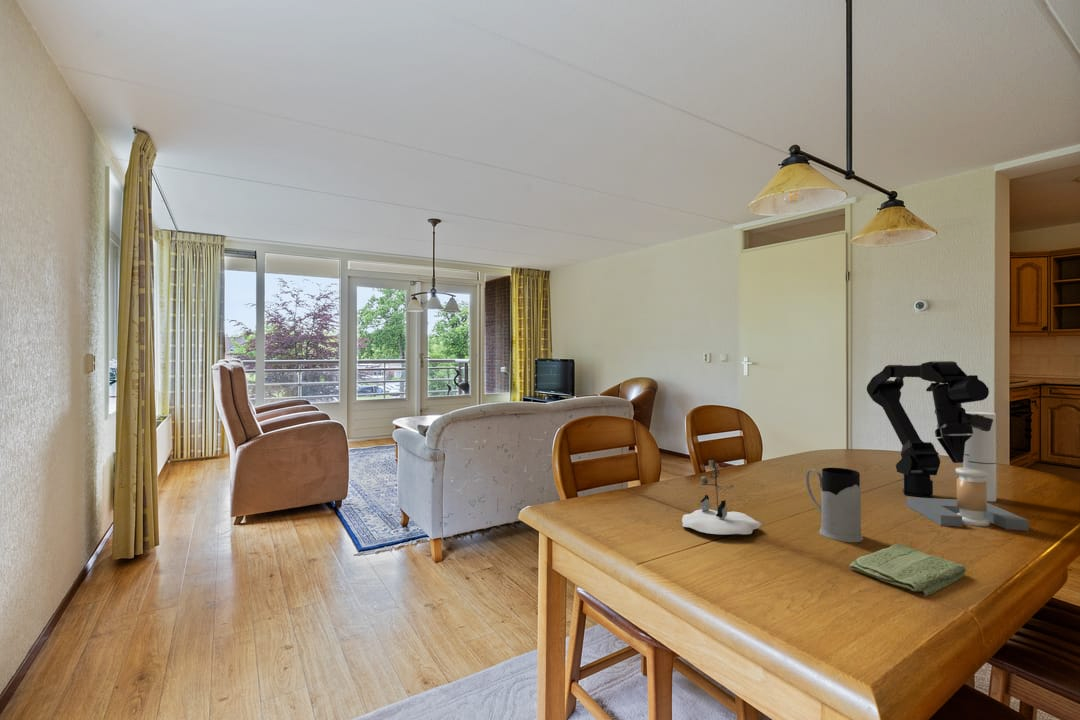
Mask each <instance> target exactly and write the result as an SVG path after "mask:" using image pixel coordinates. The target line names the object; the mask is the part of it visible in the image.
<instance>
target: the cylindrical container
mask: <svg viewBox="0 0 1080 720" xmlns="http://www.w3.org/2000/svg"><path fill="white" fill-rule="evenodd" d="M965 412H966V413H967V414H972V415H976V414H977V415H981V416H982V415H983V416H984V417H986V418H990V419H993V423H992V426H991V430H990V431H983V430H980V429H977V428H973V427H972V429H973V434H968V435H972V437H970V438H969V439H968V440H967V441H966V442H965V449H964V459H963V463H962V468H974V469H980V470H985V471H987V472H988V476H987V477H984V481H986V482H987V502H996V501H997V429H996V428H997V422H996V421H997V419H996V418H997V414H996V413H995V412H986V411H965Z"/></svg>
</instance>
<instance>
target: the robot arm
mask: <svg viewBox="0 0 1080 720" xmlns="http://www.w3.org/2000/svg"><path fill="white" fill-rule="evenodd" d="M890 378H895V379H894V380H891V379H890ZM904 378H920V379H922V380H924V381H927V382H931V383H930V385H929V386H927V388H926V389H925V391H926V392H932V397H933V404H934V414H935V416H936V421H937V424H936V426H937V428H936V429H935V430H934V436H935V438H936V440H937V441H938V443H939V444H940V446H941V447H942V448H943V450H944V451H945V453H946V454H947V455H948V457H949V458H950V460H951V462H952V463H954V464H961V463H962V464H963V459H964V449H965V442H966V441H967V440H968V439H969V438H970V437H972V435H968V434H973V429H972V427H973V428H977V429H980V430H983V431H990V430H991V426H992V423H993V419H990V418H986V417H984V416H983V415H982V416H981V415H977V414H976V415H972V414H967V413H966V412H967V411H966V409H965V408H964V407H963V405H962V404H966V403H967V404H968V403H974V402H980V401H984V400H986V399H987V398H988V397H989V393H990V390H989V387H988V386H987V385H986V384H985V382H984V381H983V380H980V379H979V376H978V375H975V374H972V375H968V374H966V372H965V371H964V370H963V369H962V368H961V367H960V366H959V365H958V363H957V362H956V361H953V360H952V361H950V360H949V361H947V360H945V361H943V360H942V361H941V360H940V361H937V360H936V361H935V360H934V361H927V362H923V363H921V364H919V365H915V364H913V365H903V364H888V365H885V366H884V367H883V369H882V370H881V371H880V372H878V373H877V374H875V375H873V377H872V378H871V379H870V381H869V382H868V384H867V386H866V392H867V394H868V395H869V397H870V398H871V400H872V401H873V402H874V403H876V404H878V405H879V406H880V407H882V409H883V410H884V413H885V414H886V417H887V419H888V421H889V423H890V424H891V427H893V428H892V429H893V430H894V432H895V434H896V436H897V437H898V440H899V441H900V444H901V447H902V448H901V450H900V457H901V459H900V460H899V461H898V462H897V463H896V464H895V469H896V472H897V473H898V474H903V475H902V479H903V480H902V483H903V487H902V489H901V490H902V493H903V495H905V496H911V497H912V496H914V497H920V498H932V495H933V493H934V490H933V489H934V485H933V483H934V481H933V479H932V478H931V476H937V475H938V472H939V469H940V465H941V459H940V456H939V455H940V453H939V452H938V451H937V450H936V448H935V446H934V443H932V442H931V441H929V442H928V441H927V442H926V441H923V440H922V439H921V437H920V436H919V434H918V432H917V430H916V429H915V426H914V425H913V422H912V421H911V419H910V418H909V416H908V414H907V412H906V411H905V409H904V407H903V405H902V403H901V396H902V392H901V390H902V388H903V387H904V384H905V383H904Z"/></svg>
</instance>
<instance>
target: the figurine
mask: <svg viewBox="0 0 1080 720" xmlns="http://www.w3.org/2000/svg"><path fill="white" fill-rule="evenodd" d="M708 467H709V468H711V469H714V473H712V472H710V473H709V478H710V479H711V478H712V479H713V481H714V482H715V483H708V482H711V481H712V479H711V480H709V481H708V476H701V478H700V479H701V484H700V485H701V486H715V491H716V492H715V494H716V510H714V509H711V504H710V498H709V495H707V494H705V495H704V497H703V498H702V499H701V501H700V502H699V504H698V505H697V506H701V507H700V509H697V510H694V511H692V512H691V513H685V514H684V515H682V518H681V522H682V527H683V528H690V529H693V530H695V531H697V532H700V533H705V534H711V535H750V534H751V535H752V533H753V531H754V530H757V529H759V528H760V527H761V526H762V523H761V522H760V521H758V520H755V519H754V518H752V517H751V516H748V514H746V513H743V512H740V511H728V508H727V503H726V502H727V500H726V499H725V500H721V501H720V502H721V503H720V504H719V495H718V489H720V490H722V486H720V485H719V486H718V477H719V476H718V475H720V471H719V470H718V468H719V463H717V461H715V460H713V459H712V460H708ZM730 488H735V485H734V484H730V486H729V487H727V490H729V489H730Z"/></svg>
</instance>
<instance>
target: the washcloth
mask: <svg viewBox="0 0 1080 720" xmlns="http://www.w3.org/2000/svg"><path fill="white" fill-rule="evenodd" d="M848 567H849V568H850V569H852V570H853V571H854V572H858V573H860V574H863V575H865V576H869V577H872V578H874V579H876V580H879V581H882V582H884V583H889V584H890V585H894V586H898V587H901V588H904V589H906V590H909V591H912V592H915V593H916V592H917V593H916V594H919V593H920V595H921V594H922V596H924V595H925V596H924V597H928V596H929V595H930V596H931V595H933V594H935V593H936V592H938V590H939V591H941V590H943V589H945V588H946V587H949V586H950V585H952V584H953V583H955V582H957V581H959V580H960V579H963V578H964V576H965V574H966V571H967V569H966V567H965V566H964V565H963V564H961V563H957V562H955V561H951V560H949V559H945V558H942V557H939V556H936V555H931V554H928V553H925V552H923V551H920V550H918V549H916V548H913V547H911V546H908V545H905V544H902V543H898V542H897V543H893V544H892V545H891V546H889V547H887V548H882V549H880V550H877V551H875V552H872V553H870V554H866V555H862V556H860V557H857V558H856V559H855V560H854V561H852V562H851V563H850V564H849V566H848Z"/></svg>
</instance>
